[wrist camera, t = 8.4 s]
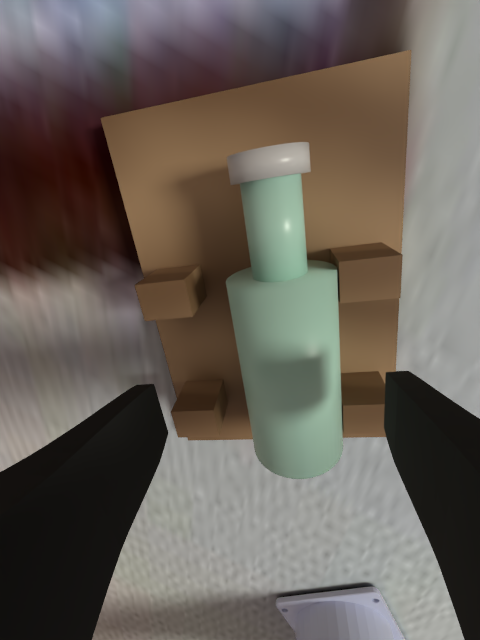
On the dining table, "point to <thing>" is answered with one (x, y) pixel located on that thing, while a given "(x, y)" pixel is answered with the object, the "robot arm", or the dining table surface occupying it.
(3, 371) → the dining table surface
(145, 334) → the dining table surface
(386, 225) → the bottle cradle
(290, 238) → the bottle
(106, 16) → the dining table surface
